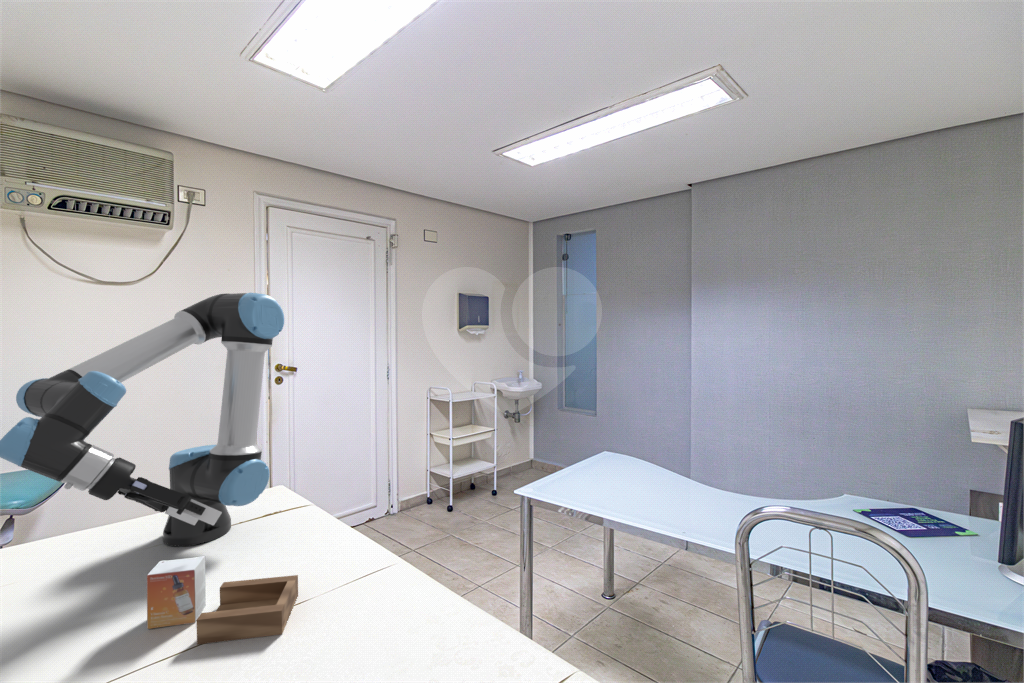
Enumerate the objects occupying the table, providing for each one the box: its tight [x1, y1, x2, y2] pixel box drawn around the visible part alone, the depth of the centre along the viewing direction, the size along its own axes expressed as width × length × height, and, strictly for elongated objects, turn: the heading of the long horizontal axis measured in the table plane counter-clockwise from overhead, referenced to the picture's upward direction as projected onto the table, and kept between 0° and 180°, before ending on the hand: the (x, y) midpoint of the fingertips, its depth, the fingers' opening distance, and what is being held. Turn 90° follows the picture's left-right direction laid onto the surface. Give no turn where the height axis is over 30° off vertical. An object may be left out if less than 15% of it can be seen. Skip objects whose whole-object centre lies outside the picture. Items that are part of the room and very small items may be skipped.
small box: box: [146, 555, 207, 630], centre depth 89 cm, size 8×6×10 cm
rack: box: [195, 574, 299, 645], centre depth 90 cm, size 12×14×4 cm
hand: (207, 519), depth 99 cm, fingers open, 13 cm apart
